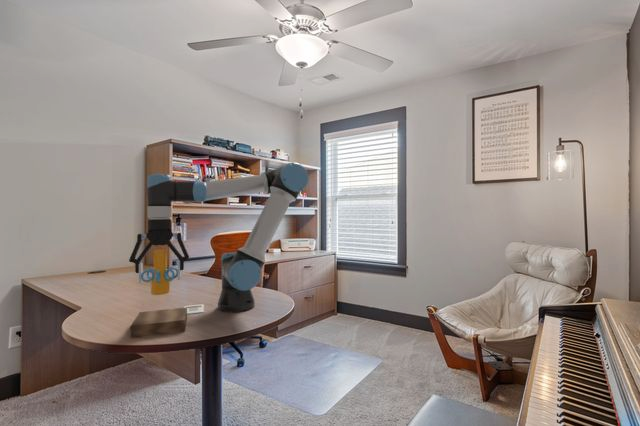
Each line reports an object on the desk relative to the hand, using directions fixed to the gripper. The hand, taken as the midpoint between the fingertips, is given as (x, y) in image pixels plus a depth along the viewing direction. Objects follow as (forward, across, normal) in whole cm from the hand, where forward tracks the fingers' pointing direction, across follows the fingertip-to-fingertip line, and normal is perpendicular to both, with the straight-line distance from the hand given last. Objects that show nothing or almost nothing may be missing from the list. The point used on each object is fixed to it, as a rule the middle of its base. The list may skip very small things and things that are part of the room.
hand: (160, 281), depth 116 cm
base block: (+16, 0, 0) cm, 16 cm away
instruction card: (+16, -10, -19) cm, 27 cm away
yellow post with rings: (+4, 0, 0) cm, 4 cm away
